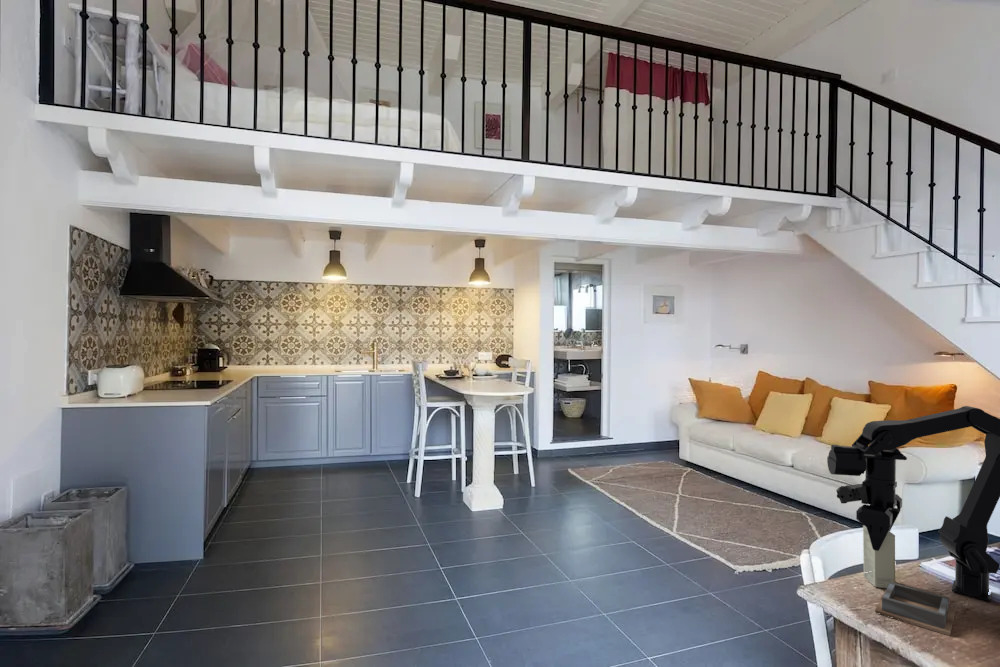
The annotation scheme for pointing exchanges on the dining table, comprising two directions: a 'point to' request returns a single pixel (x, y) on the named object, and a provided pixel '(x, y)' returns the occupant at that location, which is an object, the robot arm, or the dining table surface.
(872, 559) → the skincare box
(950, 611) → the box stand
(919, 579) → the dining table surface
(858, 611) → the dining table surface
